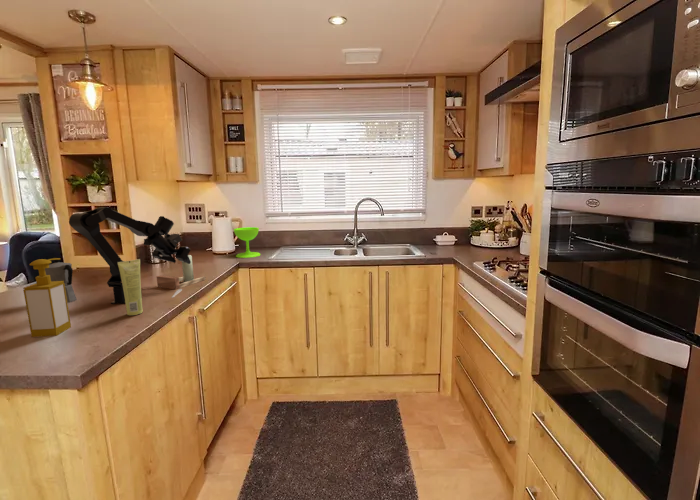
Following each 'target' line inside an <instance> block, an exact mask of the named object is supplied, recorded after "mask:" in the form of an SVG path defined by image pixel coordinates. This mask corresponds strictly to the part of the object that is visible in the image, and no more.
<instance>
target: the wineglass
mask: <svg viewBox="0 0 700 500" xmlns="http://www.w3.org/2000/svg"><path fill="white" fill-rule="evenodd" d="M259 229H260V228H259V227H251V226H250V227H248V226H247V227H237V228H234V229H233V232H234V235H235V237H237V238H238V239H240V240H241V241H243V242H245V246H246V247H245V252H239V253H237V254H236V255H235V258H238V259H242V258H243V259H245V258H246V259H248V258H256V257H260V256H261V253H260V252H258V251H256V252H255V251H250V241H253V240H254V239H256V237H257V236H258V234H259Z"/></svg>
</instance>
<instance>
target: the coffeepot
mask: <svg viewBox="0 0 700 500" xmlns="http://www.w3.org/2000/svg"><path fill="white" fill-rule="evenodd" d="M54 261H55V262H54V263H49V268H45V272H46V275H50V278H51V281H64V282H63V283H64V284H65V291H66V297H67V304H69V303H72V302H75V301H77V295H76V293H75V290H74V288H73V285H72V284H73V283H72V281H73V272H74V270H73V267H72V263H71V262H60V260H54Z"/></svg>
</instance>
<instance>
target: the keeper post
mask: <svg viewBox="0 0 700 500" xmlns="http://www.w3.org/2000/svg"><path fill="white" fill-rule="evenodd" d="M188 257H189V259H190V261H191V263H190V264H188V263H185V262H182V261H181V267H182V268H181V269H182V277H183V279H184V280H183V283H184V282H187V281H191V280H194V279H195V277H194V275H195V274H194V266H193V256H192V255H191V254H188Z"/></svg>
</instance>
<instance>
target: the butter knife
mask: <svg viewBox="0 0 700 500" xmlns="http://www.w3.org/2000/svg"><path fill="white" fill-rule="evenodd" d="M182 291H183V289H182V288H178V289H176V290H175V292H174V293H173V295H172V296H171V298H175V297H176V296H177V295H178V294H179V293H181V292H182Z"/></svg>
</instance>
